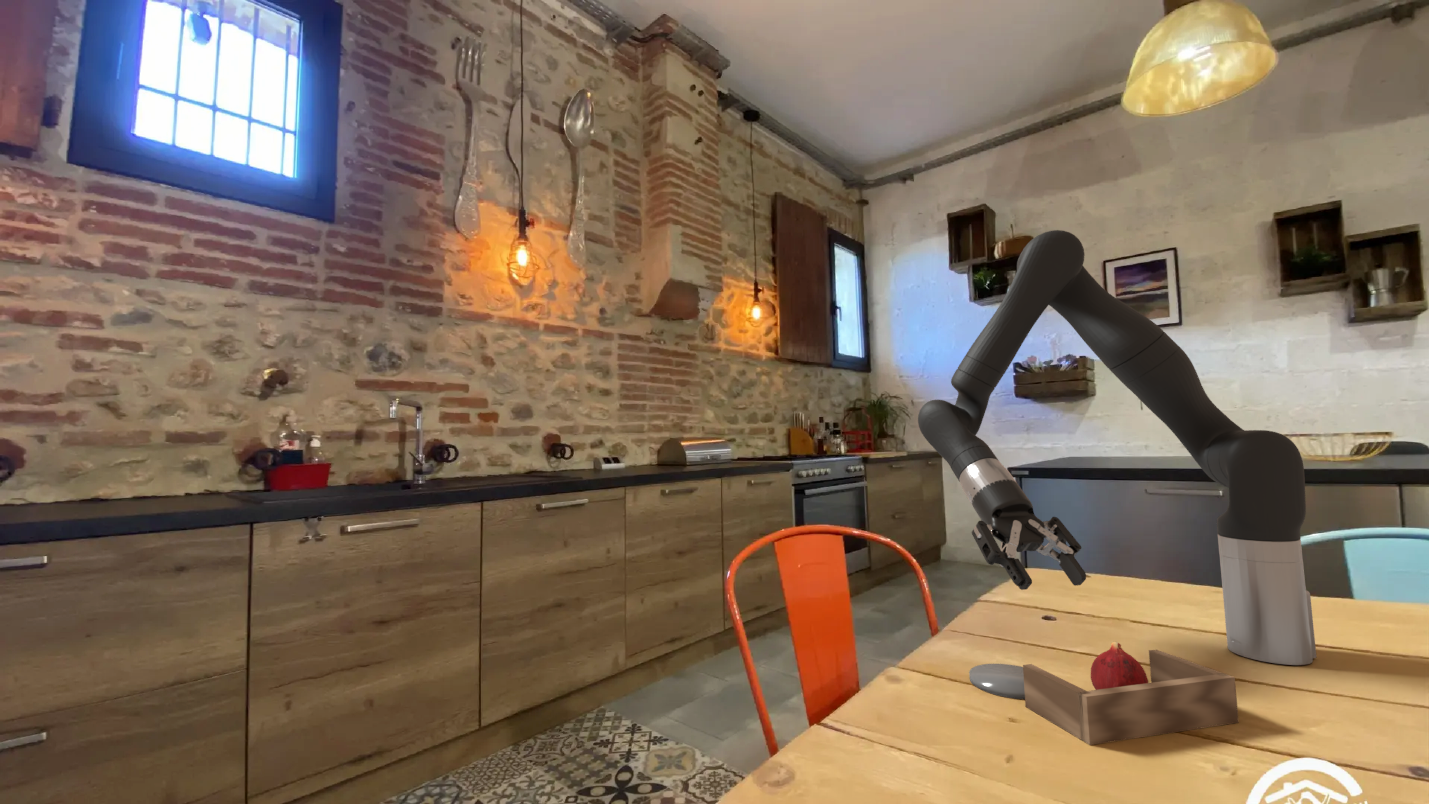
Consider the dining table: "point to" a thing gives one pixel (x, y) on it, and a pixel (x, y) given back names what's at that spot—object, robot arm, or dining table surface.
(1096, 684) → the onion
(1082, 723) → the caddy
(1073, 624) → the dining table surface
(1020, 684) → the stone
